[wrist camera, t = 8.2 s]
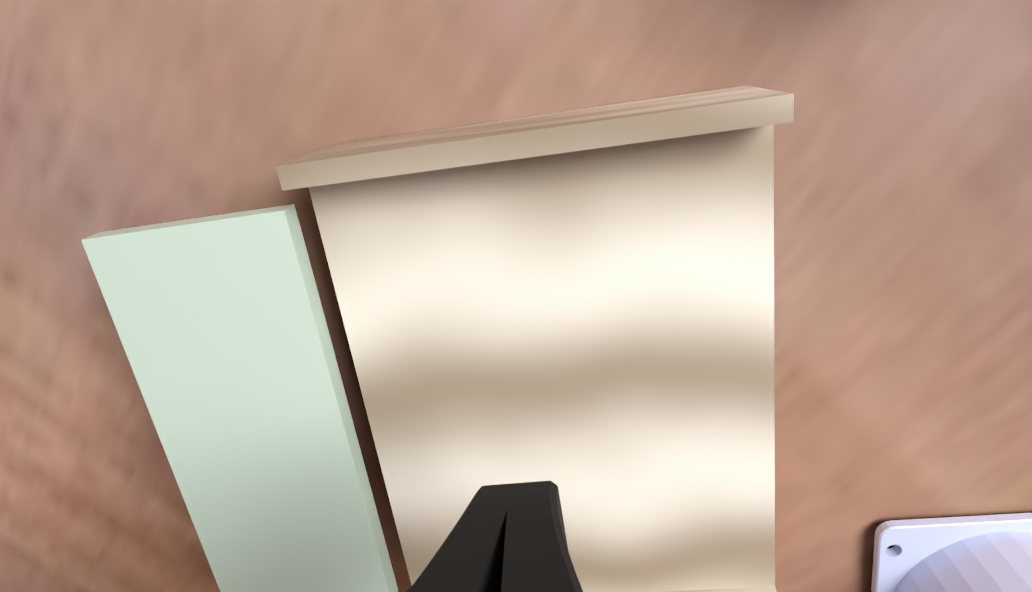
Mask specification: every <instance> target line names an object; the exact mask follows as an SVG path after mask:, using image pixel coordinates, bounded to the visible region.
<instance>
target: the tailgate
mask: <svg viewBox="0 0 1032 592" xmlns="http://www.w3.org/2000/svg"><path fill="white" fill-rule="evenodd" d="M81 241H82V243H83V246H84V248H85V251H86V253H87V256H88V259H89V261H90V264H91V266H92V269H93V271H94V274H95V276H96V279H97V281H98V284H99V286H100V289H101V291H102V294H103V296H104V299H105V302H106V304H107V307H108V309H109V312H110V314H111V317H112V319H113V322H114V324H115V327H116V329H117V332H118V334H119V337H120V339H121V342H122V345H123V347H124V350H125V352H126V355H127V357H128V360H129V362H130V365H131V367H132V370H133V372H134V375H135V377H136V380H137V382H138V385H139V388H140V390H141V393H142V395H143V398H144V400H145V403H146V405H147V408H148V410H149V413H150V415H151V418H152V420H153V423H154V425H155V428H156V431H157V433H158V436H159V438H160V441H161V443H162V446H163V448H164V451H165V453H166V456H167V458H168V461H169V463H170V466H171V468H172V471H173V474H174V476H175V479H176V481H177V484H178V486H179V489H180V491H181V494H182V496H183V499H184V501H185V504H186V506H187V509H188V511H189V514H190V516H191V519H192V522H193V524H194V527H195V529H196V532H197V534H198V537H199V539H200V542H201V544H202V547H203V549H204V552H205V554H206V557H207V559H208V562H209V565H210V567H211V570H212V572H213V575H214V577H215V580H216V582H217V585H218V587H219V590H220V592H398V587H397V583H396V580H395V576H394V572H393V568H392V565H391V561H390V557H389V554H388V550H387V546H386V542H385V539H384V535H383V531H382V528H381V524H380V520H379V516H378V513H377V509H376V505H375V502H374V498H373V494H372V490H371V487H370V483H369V479H368V476H367V472H366V468H365V464H364V461H363V457H362V453H361V450H360V446H359V442H358V438H357V435H356V431H355V427H354V424H353V420H352V416H351V412H350V409H349V405H348V401H347V398H346V394H345V390H344V386H343V383H342V379H341V375H340V372H339V368H338V364H337V360H336V357H335V353H334V349H333V346H332V342H331V338H330V334H329V331H328V327H327V323H326V320H325V316H324V312H323V308H322V305H321V301H320V297H319V294H318V290H317V286H316V282H315V279H314V275H313V271H312V268H311V264H310V260H309V256H308V253H307V249H306V245H305V242H304V238H303V234H302V230H301V227H300V223H299V219H298V216H297V212H296V208H295V204H290V205H283V206H277V207H270V208H263V209H256V210H249V211H242V212H235V213H229V214H222V215H215V216H208V217H201V218H194V219H187V220H181V221H174V222H167V223H160V224H153V225H146V226H139V227H132V228H126V229H119V230H112V231H105V232H99V233H97V234H94V235H92V236H89V237H87V238H84V239H82V240H81Z"/></svg>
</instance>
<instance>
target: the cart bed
mask: <svg viewBox="0 0 1032 592" xmlns="http://www.w3.org/2000/svg"><path fill="white" fill-rule="evenodd" d="M790 122H794V94H793V93H787V92H781V91H776V90H770V89H764V88H758V87H753V86H747V85H746V86H739V87H732V88H725V89H718V90H711V91H704V92H697V93H690V94H683V95H676V96H669V97H662V98H655V99H648V100H641V101H634V102H627V103H620V104H613V105H606V106H599V107H592V108H585V109H578V110H571V111H564V112H557V113H550V114H543V115H536V116H529V117H522V118H515V119H508V120H501V121H494V122H487V123H480V124H473V125H466V126H459V127H452V128H445V129H438V130H431V131H424V132H417V133H410V134H403V135H396V136H389V137H382V138H375V139H368V140H361V141H354V142H347V143H340V144H334V145H331V146H328V147H326V148H323V149H320V150H317V151H315V152H312V153H309V154H307V155H304V156H301V157H299V158H296V159H293V160H291V161H288V162H285V163H283V164H280V165H277V166H276V170H277V174H278V177H279V181H280V184H281V188H282V191H284V190H291V189H299V188H306V187H308V188H309V192H310V196H311V200H312V203H313V207H314V211H315V215H316V219H317V223H318V227H319V230H320V234H321V238H322V242H323V246H324V250H325V254H326V257H327V261H328V265H329V269H330V273H331V277H332V281H333V284H334V288H335V292H336V296H337V300H338V304H339V308H340V311H341V315H342V319H343V323H344V327H345V331H346V335H347V338H348V342H349V346H350V350H351V354H352V358H353V362H354V365H355V369H356V373H357V377H358V381H359V385H360V389H361V392H362V396H363V400H364V404H365V408H366V412H367V416H368V420H369V423H370V427H371V431H372V435H373V439H374V443H375V447H376V450H377V454H378V458H379V462H380V466H381V470H382V474H383V477H384V481H385V485H386V489H387V493H388V497H389V501H390V504H391V508H392V512H393V516H394V520H395V524H396V528H397V531H398V535H399V539H400V543H401V547H402V551H403V555H404V558H405V562H406V566H407V570H408V574H409V578H410V582H411V585H413V584H414V582H415V581H416V580H417V579H418V577H419V576H420V575H421V573H422V572H423V570H424V569H425V568H426V566H427V565H428V564H429V562H430V561H431V559H432V558H433V557H434V555H435V554H436V552H437V551H438V550H439V548H440V547H441V545H442V544H443V543H444V541H445V540H446V538H447V537H448V535H449V534H450V532H451V531H452V529H453V528H454V526H455V525H456V523H457V522H458V520H459V519H460V517H461V516H462V514H463V513H464V511H465V509H466V508H467V506H468V505H469V503H470V502H471V500H472V499H473V497H474V495H475V494H476V492H477V491H478V490H479V489H480V488H481V486H486V485H499V484H512V483H525V482H538V481H552V482H553V483H555V484H556V485H557V486H558V491H559V497H560V503H561V509H562V515H563V521H564V527H565V533H566V539H567V545H568V551H569V555H570V558H571V560H572V563H573V566H574V569H575V572H576V575H577V577H578V580H579V582H580V585H581V588H582V590H583V592H777V591H776V588H775V440H774V135H773V125H775V124H782V123H790Z"/></svg>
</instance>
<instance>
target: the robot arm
mask: <svg viewBox="0 0 1032 592" xmlns="http://www.w3.org/2000/svg"><path fill="white" fill-rule="evenodd" d="M891 545H895V546H894V547H892V548H888V547H889V546H891ZM407 592H583V590H582V588H581V585H580V582H579V580H578V577H577V575H576V572H575V569H574V566H573V563H572V560H571V558H570V555H569V551H568V545H567V539H566V533H565V527H564V521H563V515H562V509H561V503H560V497H559V491H558V486H557V485H556V484H555V483H553V482H552V481H538V482H525V483H512V484H499V485H486V486H481V488H480V489H479V490H478V491H477V492H476V494H475V495H474V497H473V499H472V500H471V502H470V503H469V505H468V506H467V508H466V509H465V511H464V513H463V514H462V516H461V517H460V519H459V520H458V522H457V523H456V525H455V526H454V528H453V529H452V531H451V532H450V534H449V535H448V537H447V538H446V540H445V541H444V543H443V544H442V545H441V547H440V548H439V550H438V551H437V552H436V554H435V555H434V557H433V558H432V559H431V561H430V562H429V564H428V565H427V566H426V568H425V569H424V570H423V572H422V573H421V575H420V576H419V577H418V579H417V580H416V581H415V582H414V584H413V585H412V586H411V588H410V589H409V590H408V591H407ZM871 592H1032V513H1016V514H998V515H980V516H962V517H944V518H926V519H908V520H891V521H886V522H884V523H882V524H880V525H879V526H878V527H877V528H876V531H875V540H874V555H873V571H872V586H871Z"/></svg>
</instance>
